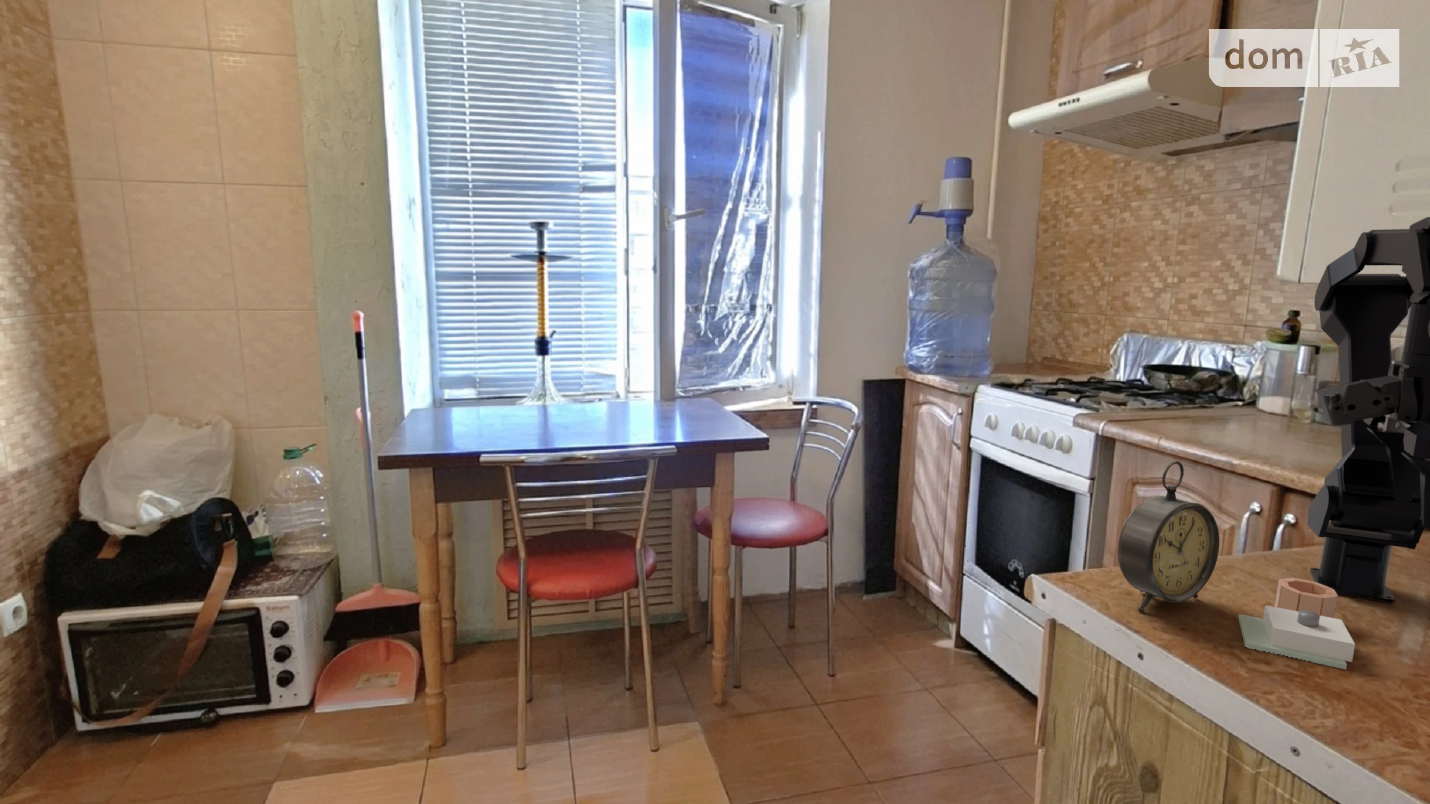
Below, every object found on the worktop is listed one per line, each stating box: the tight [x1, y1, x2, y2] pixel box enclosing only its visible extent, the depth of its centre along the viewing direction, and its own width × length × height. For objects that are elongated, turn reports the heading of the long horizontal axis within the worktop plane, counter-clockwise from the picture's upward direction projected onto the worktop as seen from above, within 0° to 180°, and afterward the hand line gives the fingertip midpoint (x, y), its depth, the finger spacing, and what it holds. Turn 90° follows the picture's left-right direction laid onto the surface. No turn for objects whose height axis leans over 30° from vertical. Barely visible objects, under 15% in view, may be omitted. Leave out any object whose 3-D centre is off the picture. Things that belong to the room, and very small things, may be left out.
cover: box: [1262, 605, 1356, 663], centre depth 69 cm, size 6×6×3 cm
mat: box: [1237, 613, 1348, 670], centre depth 70 cm, size 7×8×1 cm
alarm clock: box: [1117, 460, 1220, 614], centre depth 77 cm, size 11×5×16 cm, turn 112°
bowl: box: [1274, 577, 1339, 618], centre depth 74 cm, size 5×5×4 cm
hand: (1415, 514), depth 68 cm, fingers open, 9 cm apart
